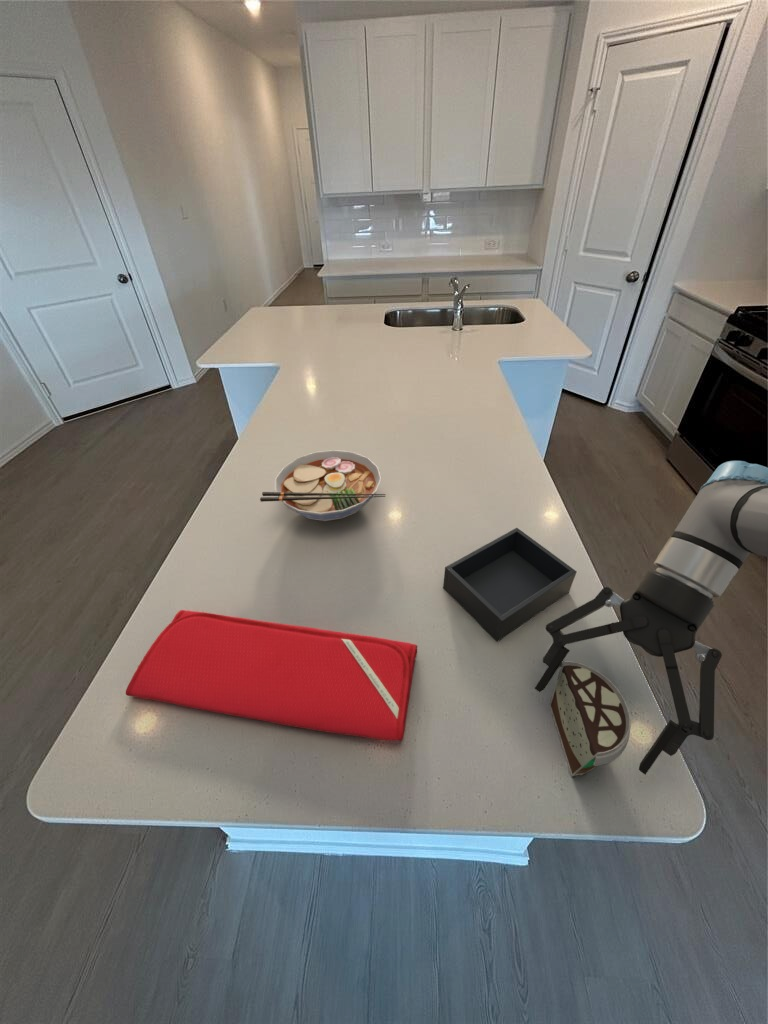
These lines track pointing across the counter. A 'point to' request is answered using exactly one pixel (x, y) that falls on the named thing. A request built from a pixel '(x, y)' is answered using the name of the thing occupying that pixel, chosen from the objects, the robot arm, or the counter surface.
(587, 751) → the halved ice cream tub
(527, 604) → the bin
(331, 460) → the ramen bowl
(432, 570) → the counter surface
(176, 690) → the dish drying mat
